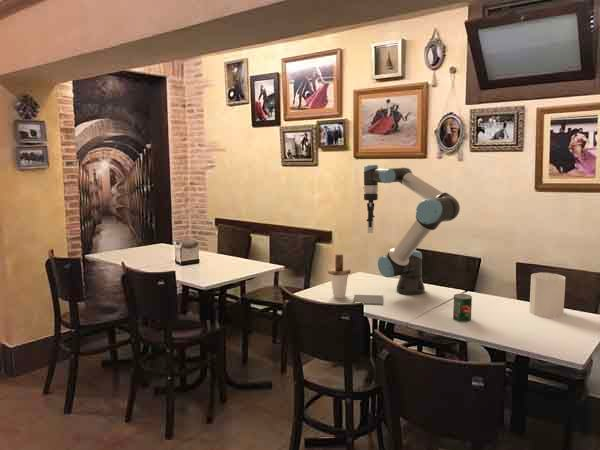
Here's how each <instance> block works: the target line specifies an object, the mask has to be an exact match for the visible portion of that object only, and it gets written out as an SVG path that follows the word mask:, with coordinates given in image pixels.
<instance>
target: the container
mask: <svg viewBox="0 0 600 450" xmlns="http://www.w3.org/2000/svg"><path fill="white" fill-rule="evenodd" d="M565 292H566V276H564V275H561V274H558V273H551V272H534V273H531V274H530V291H529V293H530V294H529V314H531V315H533V316H536V317H541V318H546V319H559V318H562V317H563V316H564V313H565V312H564V310H565V297H566V295H565Z"/></svg>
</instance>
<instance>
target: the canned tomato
mask: <svg viewBox="0 0 600 450" xmlns="http://www.w3.org/2000/svg"><path fill="white" fill-rule="evenodd" d="M472 299H473V296H472V295H470V294H468V293H455V294H454V295H453V311H452V312H453V313H452V314H453V315H452V316H453V317H452V319H453V321H454V322H455V321H456V322H458V323H469V322H471V321H472V301H473V300H472Z"/></svg>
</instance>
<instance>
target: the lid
mask: <svg viewBox="0 0 600 450" xmlns="http://www.w3.org/2000/svg"><path fill="white" fill-rule="evenodd" d="M334 259H335V260H334V261H335V262H334V263H335V267H333V268H329V269H327V273H328V274H329V275H330V274H331V275H348V276H349V275H350V274H351V269H350V268H346V267H344V254H342V253H337V254H335V255H334Z"/></svg>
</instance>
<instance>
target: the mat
mask: <svg viewBox="0 0 600 450" xmlns="http://www.w3.org/2000/svg"><path fill="white" fill-rule="evenodd" d="M352 300H353V301H352V304H353V303H355V302H363V303H364V304H363V305H374V306H376V305H377V306H378V305H379V306H383V305H384V304H383V303H384V302H383V301H384V296H383V295H379V294H378V295H377V294H375V295H374V294H354V295H353V299H352Z"/></svg>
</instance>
